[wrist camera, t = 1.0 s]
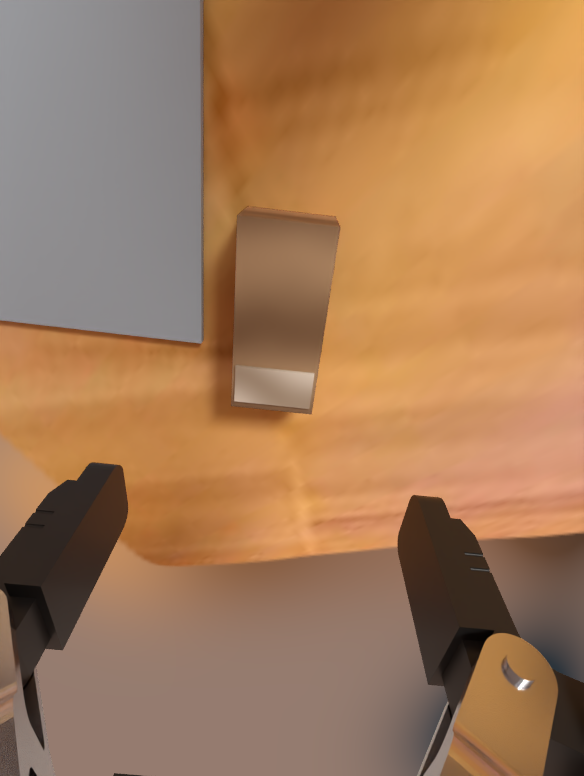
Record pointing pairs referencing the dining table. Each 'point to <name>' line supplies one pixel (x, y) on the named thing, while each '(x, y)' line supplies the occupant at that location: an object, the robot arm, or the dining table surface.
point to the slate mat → (102, 166)
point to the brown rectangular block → (280, 306)
